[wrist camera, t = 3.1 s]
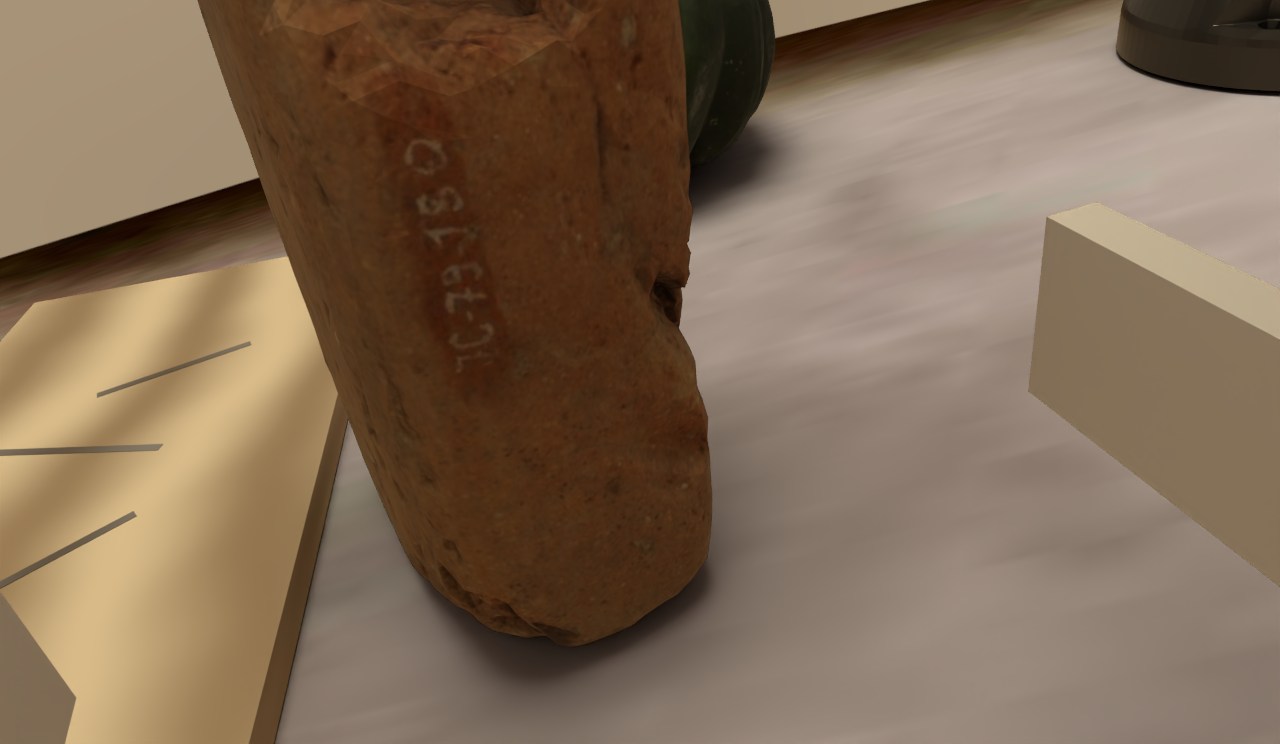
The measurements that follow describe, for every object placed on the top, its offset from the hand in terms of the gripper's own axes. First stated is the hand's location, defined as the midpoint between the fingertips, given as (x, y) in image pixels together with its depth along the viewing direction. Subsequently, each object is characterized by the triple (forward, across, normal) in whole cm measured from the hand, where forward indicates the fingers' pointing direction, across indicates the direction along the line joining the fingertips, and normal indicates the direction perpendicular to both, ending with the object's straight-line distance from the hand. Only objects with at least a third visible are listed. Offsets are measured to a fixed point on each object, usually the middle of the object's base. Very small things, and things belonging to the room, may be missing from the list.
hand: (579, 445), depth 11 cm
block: (+10, 0, -9) cm, 13 cm away
